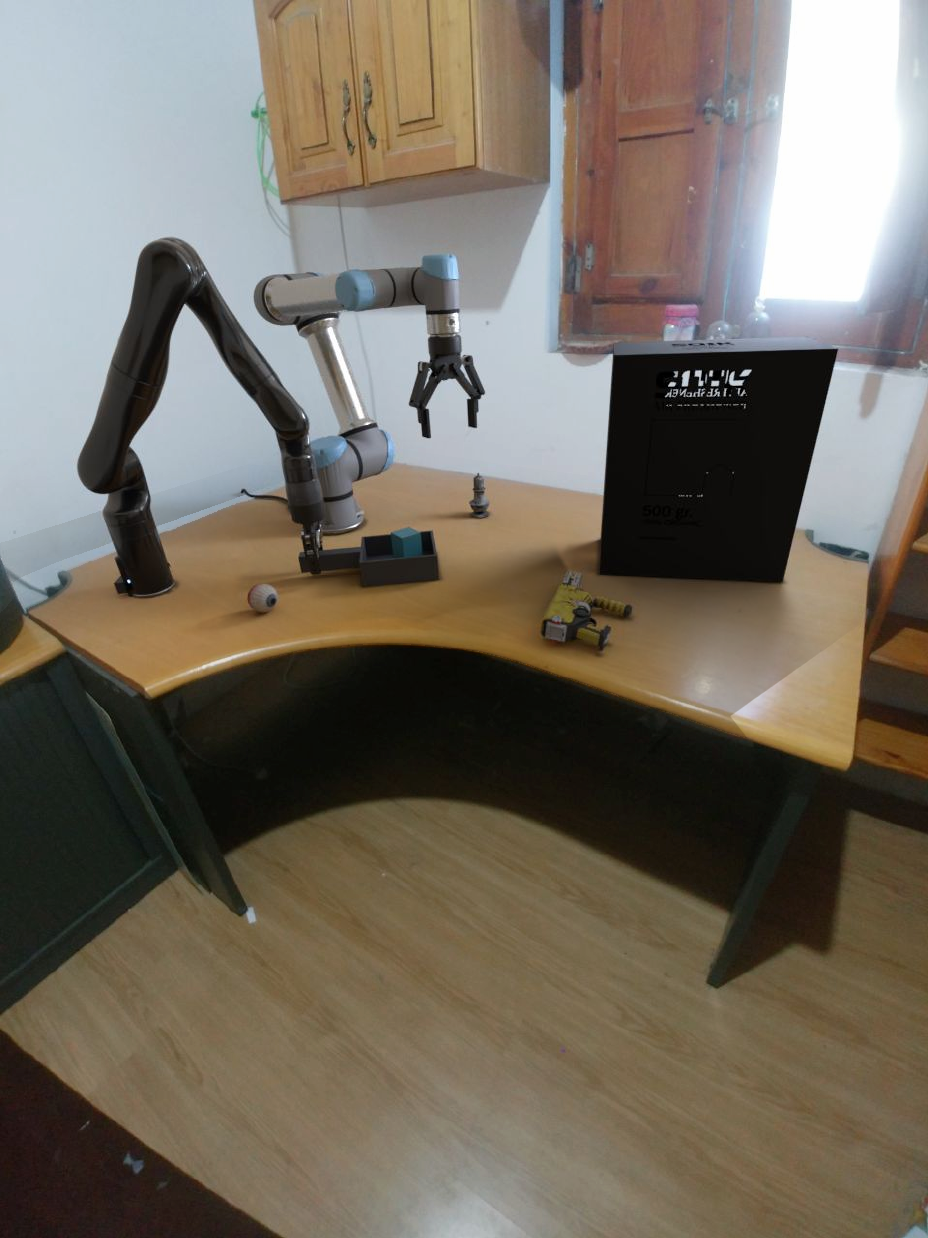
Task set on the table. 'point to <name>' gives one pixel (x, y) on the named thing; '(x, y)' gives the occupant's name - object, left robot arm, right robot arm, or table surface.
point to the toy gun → (578, 614)
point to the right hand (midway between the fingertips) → (450, 432)
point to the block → (406, 543)
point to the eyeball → (262, 597)
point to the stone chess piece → (479, 498)
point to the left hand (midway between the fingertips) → (318, 566)
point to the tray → (380, 561)
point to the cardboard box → (710, 455)
